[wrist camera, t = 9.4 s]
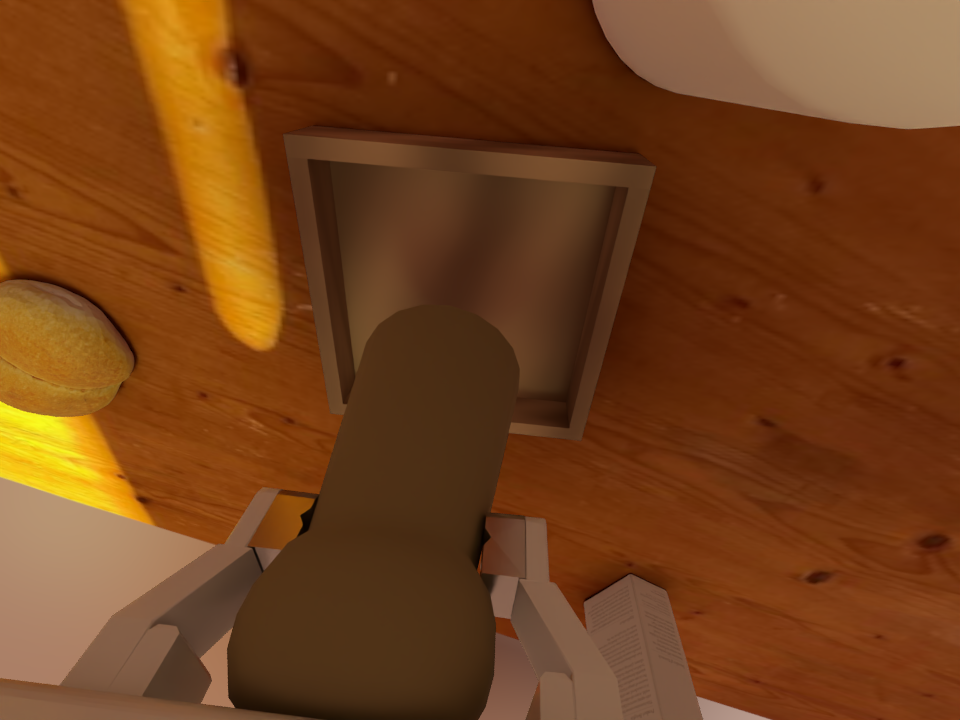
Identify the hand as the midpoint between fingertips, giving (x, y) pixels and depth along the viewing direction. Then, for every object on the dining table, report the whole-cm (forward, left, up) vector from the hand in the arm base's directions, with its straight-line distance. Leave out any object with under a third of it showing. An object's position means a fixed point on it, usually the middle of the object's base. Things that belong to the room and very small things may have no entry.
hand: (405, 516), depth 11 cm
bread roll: (+24, +6, -14) cm, 29 cm away
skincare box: (-15, +27, -14) cm, 34 cm away
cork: (0, 0, -7) cm, 7 cm away
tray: (0, 0, -14) cm, 14 cm away
